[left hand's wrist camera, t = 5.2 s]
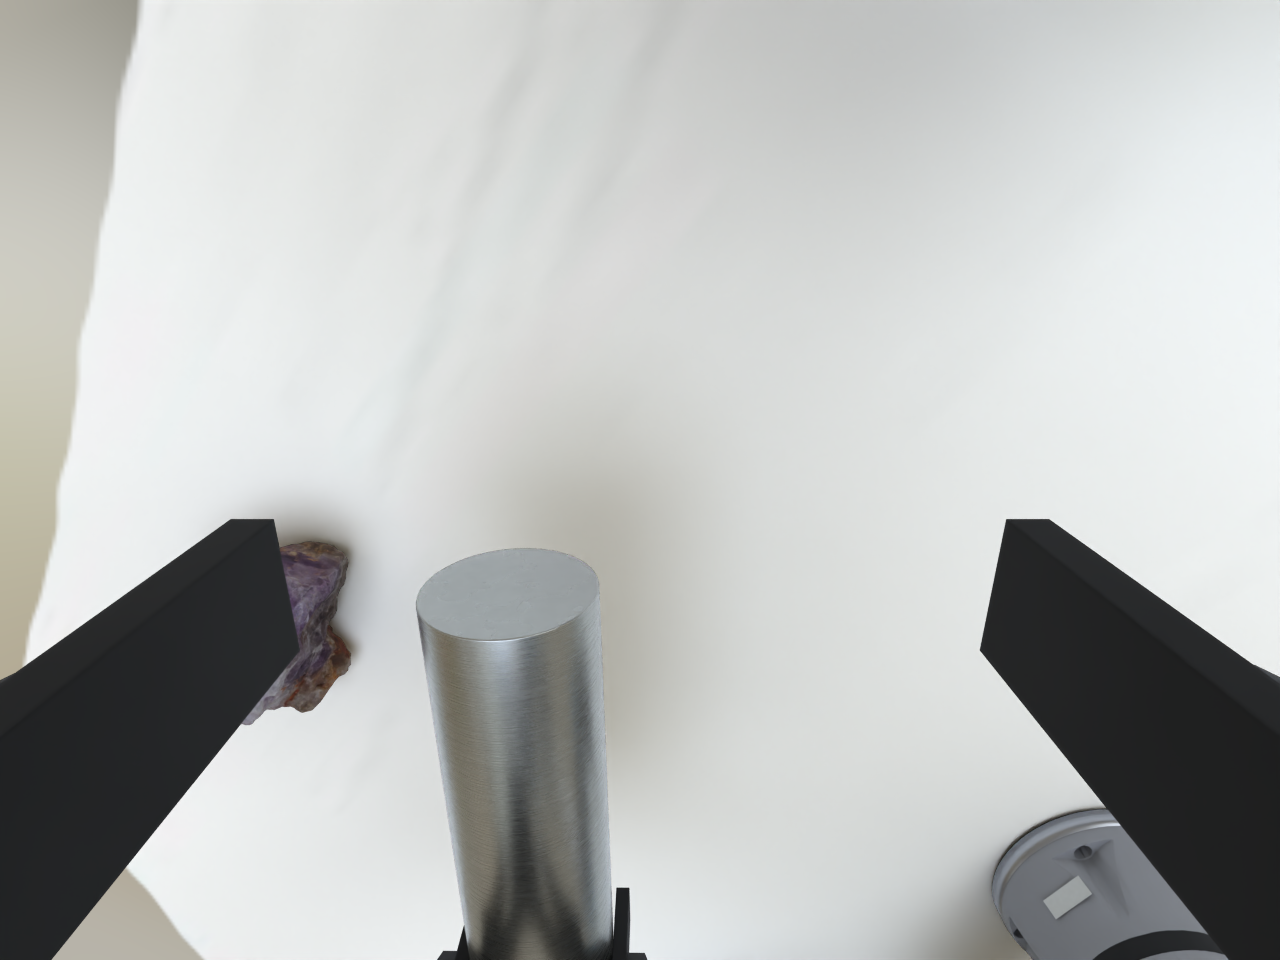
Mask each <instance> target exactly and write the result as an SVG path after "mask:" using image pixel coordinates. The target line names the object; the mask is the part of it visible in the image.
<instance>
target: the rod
mask: <svg viewBox="0 0 1280 960" xmlns="http://www.w3.org/2000/svg"><path fill="white" fill-rule="evenodd" d="M416 611H417V617H418V624H419V630H420V637H421V643H422V650H423V657H424V663H425V670H426V676H427V683H428V689H429V696H430V702H431V709H432V716H433V722H434V729H435V735H436V742H437V748H438V755H439V762H440V768H441V775H442V781H443V788H444V794H445V801H446V808H447V814H448V821H449V827H450V834H451V840H452V847H453V853H454V860H455V867H456V873H457V880H458V886H459V893H460V899H461V906H462V913H463V919H464V926H465V932H466V939H467V945H468V952H469V959H470V960H612V956H613V915H612V890H611V866H610V841H609V816H608V791H607V766H606V741H605V716H604V691H603V666H602V641H601V616H600V591H599V581H598V578H597V576H596V574H595V572H594V571H593V570H592V568H591V567H590V566H588V565H587V564H586V563H585V562H583V561H581V560H580V559H578V558H576V557H573V556H571V555H568V554H565V553H561V552H557V551H552V550H546V549H534V548H518V549H505V550H498V551H492V552H487V553H482V554H479V555H475V556H472V557H469V558H466V559H463V560H460V561H458V562H456V563H453V564H451V565H449V566H447V567H445V568H444V569H442V570H441V571H439V572H437V573H436V574H435V575H434V576H432V577H431V578H430V579H429V580H428V581H427V582H426V583H425V584H424V585H423V587H422V588H421V590H420V592H419V594H418V596H417V600H416Z"/></svg>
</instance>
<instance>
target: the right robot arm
mask: <svg viewBox="0 0 1280 960" xmlns="http://www.w3.org/2000/svg"><path fill="white" fill-rule="evenodd" d="M992 894H993V900H994V903H995V906H996V908H997V910H998V912H999V914H1000V916H1001V918H1002V920H1003V922H1004V924H1005V926H1006V928H1007V930H1008V931H1009V932H1010V934H1011V935H1012V936H1013V938H1014V939H1015V940H1016V942H1017V943H1018V944H1019V945H1020V946H1021V947H1022V948H1023V949H1024V950H1025V951H1026V952H1027V953H1028V954H1029V956H1030V957H1031V958H1032V959H1033V960H1228V958H1227V957H1226V956H1225V955H1224V953H1223V952H1222V951H1221V950H1220V948H1219V947H1218V946H1217V945H1216V943H1215V942H1214V941H1213V940H1212V939H1211V937H1210V936H1209V935H1208V934H1207V932H1206V931H1205V930H1204V929H1203V927H1202V926H1201V925H1200V924H1199V922H1198V921H1197V920H1196V919H1195V917H1194V916H1193V915H1192V914H1191V912H1190V911H1189V910H1188V909H1187V907H1186V906H1185V905H1184V904H1183V902H1182V901H1181V900H1180V899H1179V897H1178V896H1177V895H1176V894H1175V892H1174V891H1173V890H1172V889H1171V888H1170V886H1169V885H1168V884H1167V883H1166V881H1165V880H1164V879H1163V878H1162V876H1161V875H1160V874H1159V873H1158V871H1157V870H1156V869H1155V868H1154V866H1153V865H1152V864H1151V863H1150V861H1149V860H1148V859H1147V858H1146V856H1145V855H1144V854H1143V853H1142V851H1141V850H1140V849H1139V848H1138V846H1137V845H1136V844H1135V843H1134V841H1133V840H1132V839H1131V838H1130V837H1129V835H1128V834H1127V833H1126V832H1125V830H1124V829H1123V828H1122V827H1121V825H1120V824H1119V823H1118V822H1117V820H1116V819H1115V818H1114V817H1113V815H1112V814H1111V813H1110V812H1109V810H1108V809H1100V810H1090V811H1083V812H1078V813H1074V814H1070V815H1066V816H1063V817H1060V818H1057V819H1055V820H1052V821H1050V822H1048V823H1046V824H1043V825H1041V826H1040V827H1038V828H1036V829H1034V830H1033V831H1031V832H1030V833H1028V834H1027V835H1025V836H1024V837H1023V838H1021V839H1020V840H1019V841H1018V842H1017V843H1016V844H1014V845H1013V846H1012V847H1011V849H1010V850H1009V851H1008V852H1007V853H1006V854H1005V856H1004V857H1003V858H1002V860H1001V862H1000V863H999V865H998V867H997V869H996V872H995V875H994V878H993V884H992ZM629 937H630V896H629V888H617V889H616V905H615V922H614V939H613V956H612V960H647V958H646V955H645V953H629ZM437 960H470V959H469V952H468V945H467V939H466V932H465V926H464V927H463V931H462V935H461V938H460V942H459V946H458V949H457V951H443V952H442V954H441V955H440V956H439V958H438V959H437Z"/></svg>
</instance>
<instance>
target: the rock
mask: <svg viewBox="0 0 1280 960" xmlns="http://www.w3.org/2000/svg"><path fill="white" fill-rule="evenodd" d="M280 553H281V558H282V563H283V568H284V573H285V578H286V583H287V588H288V593H289V597H290V602H291V607H292V612H293V617H294V622H295V627H296V632H297V637H298V642H299V647H300V651H299V652H298V654H297V655H296V656H295V657H294V659H293V660H292V661H291V662H290V664H289V665H288V666H287V667H286V669H285V670H284V671H283V672H282V674H281V675H280V676H279V677H278V679H277V680H276V681H275V682H274V683H273V685H272V686H271V687H270V688H269V690H268V691H267V692H266V693H265V695H264V696H263V697H262V698H261V700H260V701H259V702H258V703H257V705H256V706H255V707H254V708H253V710H252V711H251V712H250V713H249V715H248V716H247V717H246V718H245V720H244V721H243V722H242V723H241V724H244V725H251V724H252V723H253V722H254V721H255V720H256V719H258V718H259V717H260V716H261V715H262V714H263V712H264V711H265V710H267V709H269V710H275V709H278V708H280V707H290V706H291V707H294V708H295V709H296V710H298V711H300V712H302V713H303V712H307V711H311V710H313V709H314V708H315V707H316V706H317V705H318V704H319V703H320V702H321V700H322V699H323V697H324V696H325V694H326V693H327V691H328V690H329V689H330V687H331V686H332V685H333V683H334V681H335V680H336V679H337V678H338V677H339V676H341V675H344V674H345V673H346V672H347V671H348V667H349V666H350V665H351V661H350V657H351V653H350V652H349V651H348V650H347V649H346V647H345V644H344V642H343V641H342V639H341V638H339V637H338V636H336V635H335V634H334V633H332V627H331V626H329V625H328V624H329V622H330V620H331V619H332V618H333V617H334V615H335V613H336V611H337V596H338V593H339V591H340V588H341V587H342V586H343V585H344V582H345V579H346V570H347V567H348V560H347V558H346V556H345V555H344V553H343V552H342V551H339V550H337V549H336V548H335V547H334V546H332V545H329V544H325V543H319V542H312V541H309V542H304V543H301V544H292V545H289V546H285V547H281V548H280Z"/></svg>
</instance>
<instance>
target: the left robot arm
mask: <svg viewBox="0 0 1280 960" xmlns="http://www.w3.org/2000/svg"><path fill="white" fill-rule="evenodd" d="M299 651H300V647H299V642H298V637H297V632H296V627H295V622H294V617H293V612H292V607H291V602H290V597H289V593H288V588H287V583H286V578H285V573H284V568H283V563H282V558H281V553H280V548H279V543H278V538H277V533H276V528H275V523H274V519H231V520H229V521H228V522H226V523H225V524H224V525H222V526H221V527H219V528H218V529H217V530H215V531H214V532H212V533H211V534H209V535H208V536H207V537H205V538H204V539H202V540H201V541H200V542H198V543H197V544H195V545H194V546H193V547H191V548H190V549H188V550H187V551H186V552H184V553H183V554H181V555H180V556H179V557H177V558H176V559H174V560H173V561H172V562H170V563H169V564H167V565H166V566H165V567H163V568H162V569H160V570H159V571H158V572H156V573H155V574H153V575H152V576H151V577H149V578H148V579H146V580H145V581H144V582H142V583H141V584H139V585H138V586H137V587H135V588H134V589H132V590H131V591H130V592H128V593H127V594H125V595H124V596H123V597H121V598H120V599H118V600H117V601H116V602H114V603H113V604H111V605H110V606H109V607H107V608H106V609H104V610H103V611H101V612H100V613H99V614H97V615H96V616H94V617H93V618H92V619H90V620H89V621H87V622H86V623H85V624H83V625H82V626H80V627H79V628H78V629H76V630H75V631H73V632H72V633H71V634H69V635H68V636H66V637H65V638H64V639H62V640H61V641H59V642H58V643H57V644H55V645H54V646H52V647H51V648H50V649H48V650H47V651H45V652H44V653H43V654H41V655H40V656H38V657H37V658H36V659H34V660H33V661H31V662H30V663H29V664H27V665H26V666H24V667H23V668H22V669H20V670H19V671H17V672H16V673H14V674H12V675H10V676H8V677H6V678H4V679H2V680H0V960H52V958H53V957H54V956H55V955H56V953H57V952H58V951H59V950H60V948H61V947H62V946H63V945H64V943H65V942H66V941H67V940H68V939H69V937H70V936H71V935H72V934H73V932H74V931H75V930H76V929H77V927H78V926H79V925H80V924H81V922H82V921H83V920H84V919H85V917H86V916H87V915H88V914H89V912H90V911H91V910H92V909H93V907H94V906H95V905H96V904H97V902H98V901H99V900H100V899H101V897H102V896H103V895H104V894H105V892H106V891H107V890H108V889H109V887H110V886H111V885H112V884H113V882H114V881H115V880H116V879H117V878H118V876H119V875H120V874H121V873H122V871H123V870H124V869H125V868H126V866H127V865H128V864H129V863H130V861H131V860H132V859H133V858H134V856H135V855H136V854H137V853H138V851H139V850H140V849H141V848H142V846H143V845H144V844H145V843H146V841H147V840H148V839H149V838H150V837H151V835H152V834H153V833H154V832H155V830H156V829H157V828H158V827H159V825H160V824H161V823H162V822H163V820H164V819H165V818H166V817H167V815H168V814H169V813H170V812H171V810H172V809H173V808H174V807H175V805H176V804H177V803H178V802H179V800H180V799H181V798H182V797H183V795H184V794H185V793H186V792H187V790H188V789H189V788H190V787H191V785H192V784H193V783H194V782H195V781H196V779H197V778H198V777H199V776H200V774H201V773H202V772H203V771H204V769H205V768H206V767H207V766H208V764H209V763H210V762H211V761H212V759H213V758H214V757H215V756H216V754H217V753H218V752H219V751H220V749H221V748H222V747H223V746H224V744H225V743H226V742H227V741H228V739H229V738H230V737H231V736H232V734H233V733H234V732H235V731H236V730H237V728H238V727H239V726H240V725H241V723H242V722H243V721H244V720H245V718H246V717H247V716H248V715H249V713H250V712H251V711H252V710H253V708H254V707H255V706H256V705H257V703H258V702H259V701H260V700H261V698H262V697H263V696H264V695H265V693H266V692H267V691H268V690H269V688H270V687H271V686H272V685H273V683H274V682H275V681H276V680H277V679H278V677H279V676H280V675H281V674H282V672H283V671H284V670H285V669H286V667H287V666H288V665H289V664H290V662H291V661H292V660H293V659H294V657H295V656H296V655H297V654H298V652H299ZM980 651H981V652H982V654H983V655H984V656H985V657H986V659H987V660H988V661H989V662H990V664H991V665H992V666H993V667H994V669H995V670H996V671H997V672H998V674H999V675H1000V676H1001V677H1002V679H1003V680H1004V681H1005V682H1006V683H1007V685H1008V686H1009V687H1010V688H1011V690H1012V691H1013V692H1014V693H1015V695H1016V696H1017V697H1018V698H1019V700H1020V701H1021V702H1022V703H1023V705H1024V706H1025V707H1026V708H1027V710H1028V711H1029V712H1030V713H1031V715H1032V716H1033V717H1034V718H1035V720H1036V721H1037V722H1038V723H1039V725H1040V726H1041V727H1042V728H1043V730H1044V731H1045V732H1046V733H1047V734H1048V736H1049V737H1050V738H1051V739H1052V741H1053V742H1054V743H1055V744H1056V746H1057V747H1058V748H1059V749H1060V751H1061V752H1062V753H1063V754H1064V756H1065V757H1066V758H1067V759H1068V761H1069V762H1070V763H1071V764H1072V766H1073V767H1074V768H1075V769H1076V771H1077V772H1078V773H1079V774H1080V776H1081V777H1082V778H1083V779H1084V781H1085V782H1086V783H1087V784H1088V786H1089V787H1090V788H1091V789H1092V790H1093V792H1094V793H1095V794H1096V795H1097V797H1098V798H1099V799H1100V800H1101V802H1102V803H1103V804H1104V805H1105V807H1106V808H1107V809H1108V810H1109V812H1110V813H1111V814H1112V815H1113V817H1114V818H1115V819H1116V820H1117V822H1118V823H1119V824H1120V825H1121V827H1122V828H1123V829H1124V830H1125V832H1126V833H1127V834H1128V835H1129V837H1130V838H1131V839H1132V840H1133V841H1134V843H1135V844H1136V845H1137V846H1138V848H1139V849H1140V850H1141V851H1142V853H1143V854H1144V855H1145V856H1146V858H1147V859H1148V860H1149V861H1150V863H1151V864H1152V865H1153V866H1154V868H1155V869H1156V870H1157V871H1158V873H1159V874H1160V875H1161V876H1162V878H1163V879H1164V880H1165V881H1166V883H1167V884H1168V885H1169V886H1170V888H1171V889H1172V890H1173V891H1174V892H1175V894H1176V895H1177V896H1178V897H1179V899H1180V900H1181V901H1182V902H1183V904H1184V905H1185V906H1186V907H1187V909H1188V910H1189V911H1190V912H1191V914H1192V915H1193V916H1194V917H1195V919H1196V920H1197V921H1198V922H1199V924H1200V925H1201V926H1202V927H1203V929H1204V930H1205V931H1206V932H1207V934H1208V935H1209V936H1210V937H1211V939H1212V940H1213V941H1214V942H1215V943H1216V945H1217V946H1218V947H1219V948H1220V950H1221V951H1222V952H1223V953H1224V955H1225V956H1226V957H1227V958H1228V960H1280V677H1279V676H1276V675H1274V674H1272V673H1270V672H1268V671H1266V670H1264V669H1262V668H1260V667H1258V666H1256V665H1253V664H1251V663H1250V662H1249V661H1247V660H1246V659H1244V658H1243V657H1242V656H1240V655H1239V654H1237V653H1236V652H1235V651H1233V650H1232V649H1230V648H1229V647H1228V646H1226V645H1225V644H1223V643H1222V642H1221V641H1219V640H1218V639H1216V638H1215V637H1214V636H1212V635H1211V634H1209V633H1208V632H1207V631H1205V630H1204V629H1202V628H1201V627H1200V626H1198V625H1197V624H1195V623H1194V622H1193V621H1191V620H1190V619H1188V618H1187V617H1186V616H1184V615H1183V614H1181V613H1180V612H1179V611H1177V610H1176V609H1174V608H1173V607H1171V606H1170V605H1169V604H1167V603H1166V602H1164V601H1163V600H1162V599H1160V598H1159V597H1157V596H1156V595H1155V594H1153V593H1152V592H1150V591H1149V590H1148V589H1146V588H1145V587H1143V586H1142V585H1141V584H1139V583H1138V582H1136V581H1135V580H1134V579H1132V578H1131V577H1129V576H1128V575H1127V574H1125V573H1124V572H1122V571H1121V570H1120V569H1118V568H1117V567H1115V566H1114V565H1113V564H1111V563H1110V562H1108V561H1107V560H1106V559H1104V558H1103V557H1101V556H1100V555H1099V554H1097V553H1096V552H1094V551H1093V550H1092V549H1090V548H1089V547H1087V546H1086V545H1085V544H1083V543H1082V542H1080V541H1079V540H1078V539H1076V538H1075V537H1073V536H1072V535H1070V534H1069V533H1068V532H1066V531H1065V530H1063V529H1062V528H1061V527H1059V526H1058V525H1056V524H1055V523H1054V522H1052V521H1051V520H1049V519H1006V523H1005V528H1004V533H1003V538H1002V543H1001V548H1000V553H999V558H998V563H997V568H996V573H995V578H994V583H993V588H992V593H991V597H990V602H989V607H988V612H987V617H986V622H985V627H984V632H983V637H982V642H981V647H980Z"/></svg>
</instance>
